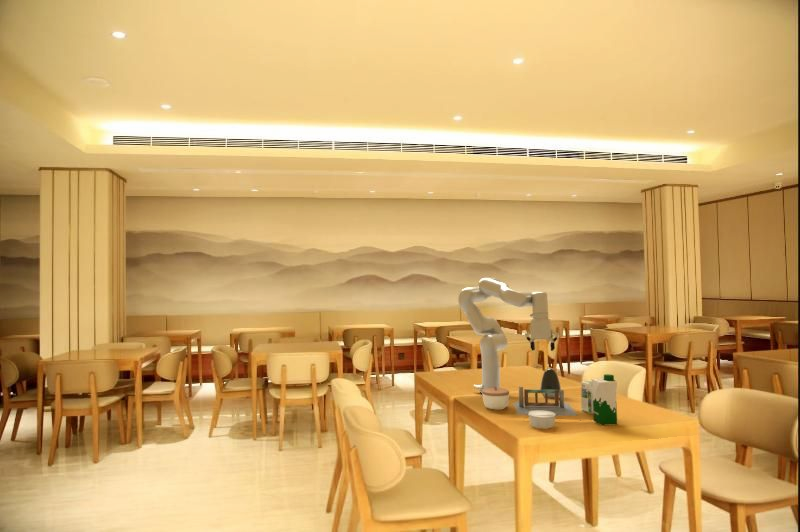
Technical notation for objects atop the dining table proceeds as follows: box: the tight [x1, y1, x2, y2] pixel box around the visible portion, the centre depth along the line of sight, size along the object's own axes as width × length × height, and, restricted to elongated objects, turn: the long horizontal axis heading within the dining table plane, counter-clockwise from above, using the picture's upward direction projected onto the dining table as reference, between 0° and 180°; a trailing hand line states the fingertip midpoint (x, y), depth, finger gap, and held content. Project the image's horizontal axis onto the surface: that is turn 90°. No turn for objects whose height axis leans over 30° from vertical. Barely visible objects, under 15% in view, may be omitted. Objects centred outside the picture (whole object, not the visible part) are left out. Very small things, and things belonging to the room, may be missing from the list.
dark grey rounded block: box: [539, 367, 562, 399], centre depth 272 cm, size 10×10×15 cm
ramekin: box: [527, 410, 557, 430], centre depth 220 cm, size 11×11×5 cm
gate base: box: [513, 386, 579, 417], centre depth 245 cm, size 26×24×10 cm
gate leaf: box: [523, 388, 560, 407], centre depth 248 cm, size 16×2×8 cm, turn 82°
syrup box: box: [580, 380, 593, 414], centre depth 238 cm, size 6×6×14 cm
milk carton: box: [591, 374, 618, 426], centre depth 224 cm, size 9×9×20 cm
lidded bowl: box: [482, 386, 510, 411], centre depth 249 cm, size 13×13×11 cm
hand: (542, 350), depth 264 cm, fingers open, 9 cm apart
